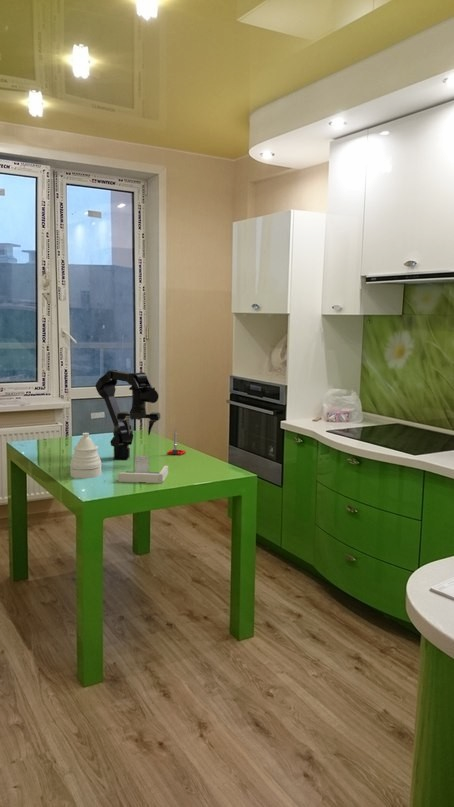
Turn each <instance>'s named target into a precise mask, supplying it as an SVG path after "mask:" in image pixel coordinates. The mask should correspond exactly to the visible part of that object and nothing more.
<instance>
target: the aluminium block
mask: <svg viewBox="0 0 454 807" xmlns="http://www.w3.org/2000/svg"><path fill="white" fill-rule="evenodd" d="M149 459H150V458H149V455H148V454H147V455H134V472H135V473H149V472H150V471H149V467H150V466H149V462H150V461H149Z"/></svg>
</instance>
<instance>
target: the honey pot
mask: <svg viewBox="0 0 454 807" xmlns="http://www.w3.org/2000/svg"><path fill="white" fill-rule="evenodd" d="M73 450H74V452H73V454H72V458H71V461H70V468H69V469H70V472H69V473H70V477H72V478H75V479H92V478H93V479H94V478H97V477H101V475H102V474H103V473H102V460H101V458H100V456H99V452H98V450H99V446H98V445H96V444H95V443H94V441H93V439H92V438H91V437H90V433H89V432H83V433H82V437H80V439H79V440H78V442H77V444H76V445H75V446H74V447H73Z"/></svg>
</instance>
